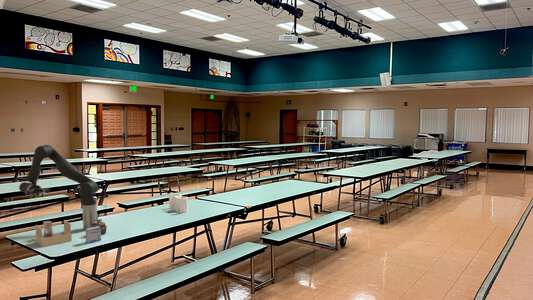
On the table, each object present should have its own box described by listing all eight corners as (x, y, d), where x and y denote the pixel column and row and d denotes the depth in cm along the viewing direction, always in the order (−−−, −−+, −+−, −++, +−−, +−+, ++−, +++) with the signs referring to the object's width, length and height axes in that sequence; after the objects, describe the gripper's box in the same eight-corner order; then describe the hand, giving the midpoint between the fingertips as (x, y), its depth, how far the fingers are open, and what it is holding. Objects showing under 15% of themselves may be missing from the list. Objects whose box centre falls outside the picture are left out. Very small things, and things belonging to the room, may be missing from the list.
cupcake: (93, 237, 259) (93, 221, 258) (90, 233, 267) (89, 219, 266) (108, 234, 265) (108, 219, 264) (105, 231, 272) (104, 217, 272)
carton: (59, 233, 268) (58, 217, 268) (71, 241, 250) (71, 223, 250) (31, 238, 257) (30, 221, 256) (42, 246, 239) (41, 229, 238)
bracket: (190, 212, 329) (190, 197, 328) (179, 213, 324) (179, 199, 323) (179, 206, 350) (179, 193, 349) (168, 208, 344) (168, 194, 343)
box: (50, 235, 261) (49, 220, 261) (52, 237, 258) (51, 222, 257) (44, 236, 259) (43, 221, 258) (46, 238, 255) (45, 223, 255)
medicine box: (88, 243, 245) (88, 229, 244) (85, 242, 248) (85, 228, 247) (101, 240, 251) (100, 227, 250) (98, 239, 254) (97, 226, 253)
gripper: (22, 185, 271) (28, 188, 260) (45, 183, 281) (52, 185, 270) (22, 196, 272) (29, 199, 260) (45, 193, 282) (52, 196, 270)
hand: (40, 192), depth 265 cm, fingers open, 8 cm apart
